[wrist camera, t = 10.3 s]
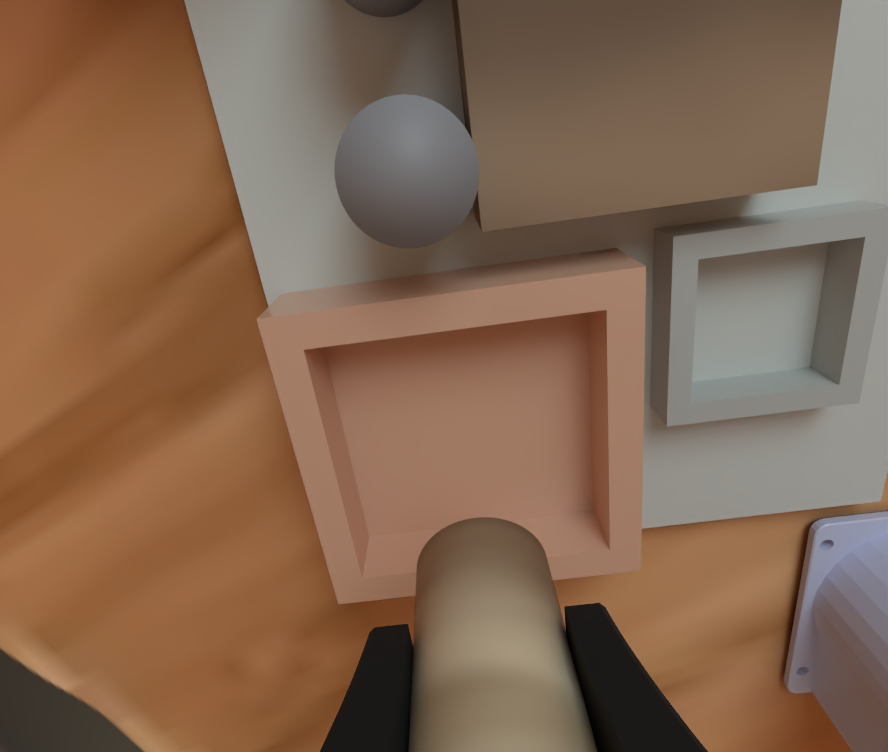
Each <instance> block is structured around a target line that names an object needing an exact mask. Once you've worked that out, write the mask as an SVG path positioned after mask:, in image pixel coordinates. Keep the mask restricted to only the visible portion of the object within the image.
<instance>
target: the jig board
mask: <svg viewBox="0 0 888 752" xmlns="http://www.w3.org/2000/svg"><path fill="white" fill-rule="evenodd" d="M184 2H185V5H186V9H187V13H188V16H189V20H190V24H191V27H192V31H193V35H194V38H195V42H196V45H197V49H198V53H199V56H200V60H201V64H202V67H203V71H204V75H205V78H206V82H207V85H208V89H209V93H210V96H211V100H212V104H213V107H214V111H215V114H216V118H217V122H218V125H219V129H220V133H221V136H222V140H223V144H224V147H225V151H226V154H227V158H228V162H229V165H230V169H231V173H232V176H233V180H234V184H235V187H236V191H237V194H238V198H239V202H240V205H241V209H242V213H243V216H244V220H245V223H246V227H247V231H248V234H249V238H250V242H251V245H252V249H253V253H254V256H255V260H256V263H257V267H258V271H259V274H260V278H261V282H262V285H263V289H264V293H265V296H266V300H267V303H268V307H269V306H270V305H271V304H272V303H273V302H274V301H275V300H276V299H277V298H278V297H279V296H280V295H281V294H282V293H289V292H296V291H303V290H311V289H318V288H325V287H333V286H340V285H347V284H354V283H362V282H369V281H376V280H384V279H391V278H398V277H406V276H413V275H420V274H428V273H435V272H442V271H449V270H457V269H464V268H471V267H479V266H486V265H493V264H501V263H508V262H515V261H522V260H530V259H537V258H544V257H552V256H559V255H566V254H574V253H581V252H588V251H596V250H603V249H610V248H617V249H619V250H620V251H622V252H624V253H625V254H627V255H628V256H630V257H632V258H633V259H635V260H637V261H638V262H640V263H641V264H643V265H645V266H646V303H645V366H644V429H643V492H642V529H644V528H652V527H661V526H670V525H678V524H687V523H696V522H705V521H713V520H722V519H731V518H739V517H748V516H757V515H765V514H774V513H783V512H792V511H800V510H809V509H818V508H826V507H835V506H844V505H852V504H861V503H870V502H878V501H881V498H882V493H883V489H884V485H885V481H886V476H887V472H888V0H842V5H841V13H840V20H839V27H838V35H837V42H836V49H835V57H834V64H833V71H832V79H831V86H830V94H829V101H828V108H827V116H826V123H825V130H824V138H823V145H822V152H821V160H820V167H819V175H818V182H817V185H815V186H808V187H801V188H793V189H786V190H779V191H772V192H765V193H758V194H750V195H743V196H736V197H729V198H722V199H715V200H707V201H700V202H693V203H686V204H679V205H671V206H664V207H657V208H650V209H643V210H636V211H628V212H621V213H614V214H607V215H600V216H593V217H585V218H578V219H571V220H564V221H557V222H549V223H542V224H535V225H528V226H521V227H514V228H506V229H499V230H492V231H485V232H482V231H481V229H480V227H479V225H478V223H477V221H476V219H475V212H474V201H475V198H476V195H477V190H478V185H479V163H478V157H477V153H476V149H475V146H474V143H473V141H472V139H471V137H470V135H469V133H468V131H467V130H466V128H465V120H464V111H463V101H462V92H461V83H460V74H459V64H458V55H457V46H456V37H455V27H454V18H453V9H452V0H184Z"/></svg>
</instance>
